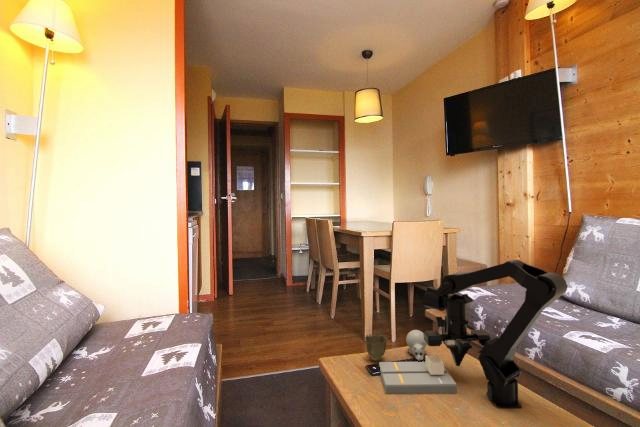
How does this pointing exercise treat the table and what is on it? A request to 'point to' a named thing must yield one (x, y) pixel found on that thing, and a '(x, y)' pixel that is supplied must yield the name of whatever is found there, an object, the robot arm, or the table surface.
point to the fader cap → (434, 365)
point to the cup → (376, 346)
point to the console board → (414, 379)
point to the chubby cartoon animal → (416, 344)
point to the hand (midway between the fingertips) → (457, 365)
